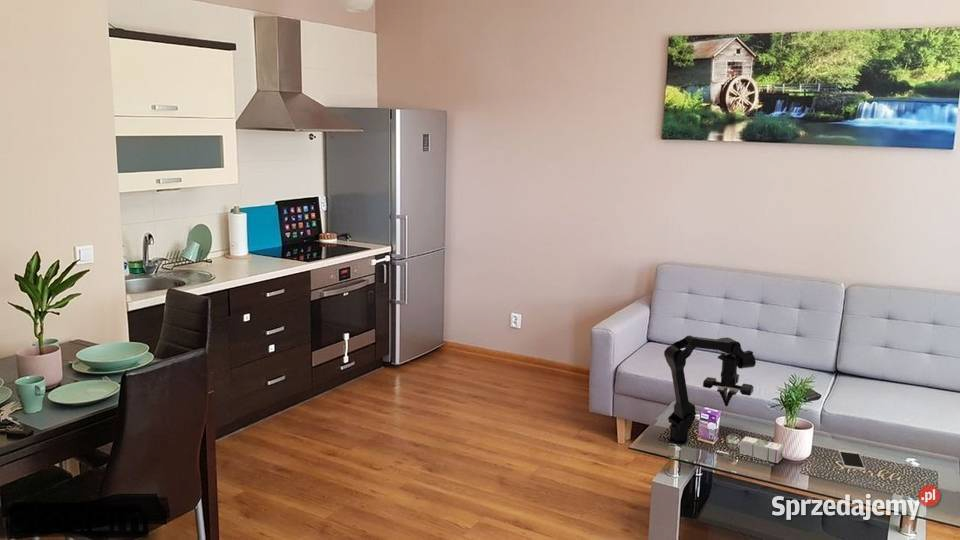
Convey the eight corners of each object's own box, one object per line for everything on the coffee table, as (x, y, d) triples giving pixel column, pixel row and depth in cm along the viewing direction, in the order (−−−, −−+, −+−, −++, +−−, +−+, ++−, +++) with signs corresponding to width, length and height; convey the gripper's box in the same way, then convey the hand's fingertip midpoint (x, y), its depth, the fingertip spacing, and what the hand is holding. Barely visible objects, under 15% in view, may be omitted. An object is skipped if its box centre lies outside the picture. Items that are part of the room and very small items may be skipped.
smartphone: (858, 453, 293) (858, 451, 293) (865, 471, 279) (865, 469, 279) (838, 451, 295) (838, 449, 295) (844, 469, 281) (844, 466, 281)
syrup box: (739, 454, 292) (778, 464, 283) (740, 440, 291) (779, 450, 282) (744, 449, 296) (782, 458, 288) (745, 434, 295) (783, 444, 286)
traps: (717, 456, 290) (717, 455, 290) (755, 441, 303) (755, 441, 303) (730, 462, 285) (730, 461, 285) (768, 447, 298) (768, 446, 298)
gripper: (757, 367, 306) (754, 404, 310) (711, 359, 316) (708, 395, 319) (751, 376, 297) (748, 413, 300) (703, 367, 307) (701, 404, 310)
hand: (726, 406), depth 308 cm, fingers closed
